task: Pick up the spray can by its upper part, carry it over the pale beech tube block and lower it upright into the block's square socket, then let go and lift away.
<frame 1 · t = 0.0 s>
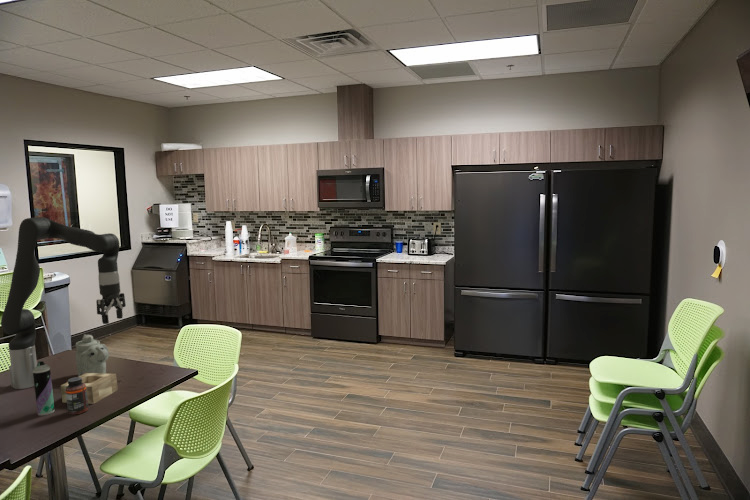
hand: (112, 321, 210), 29 cm above the table, tool pointing down, fingers open, 8 cm apart
spray can: (46, 412, 192), on the table
supplement bottle: (78, 412, 192), on the table
grey animal cookie jar: (94, 376, 230), on the table
tube block: (90, 396, 207), on the table
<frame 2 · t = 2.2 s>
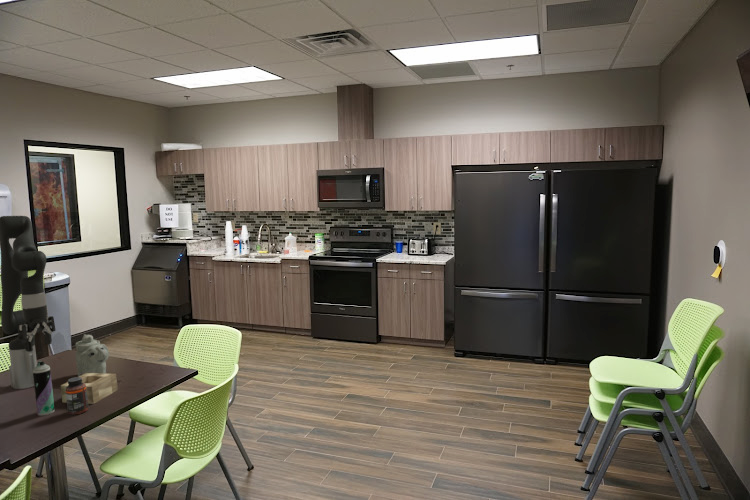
hand: (39, 347, 189), 25 cm above the table, tool pointing down, fingers open, 8 cm apart
nothing on the table moved.
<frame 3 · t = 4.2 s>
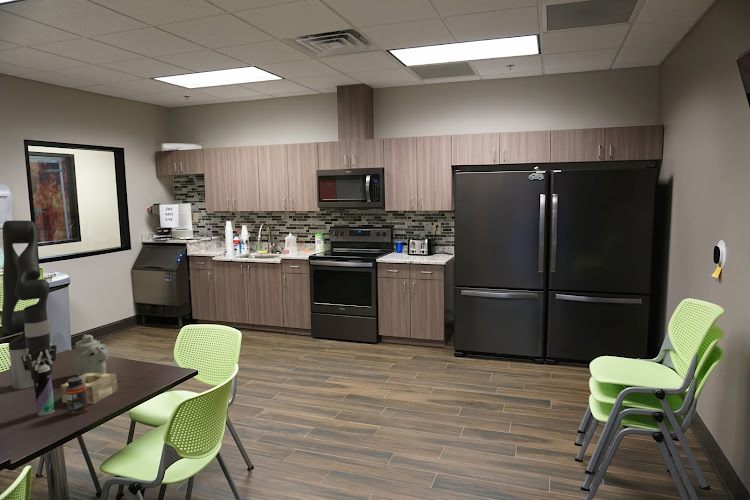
hand: (42, 376, 191), 14 cm above the table, tool pointing down, fingers closed on spray can, 5 cm apart
spray can: (46, 412, 192), on the table, touching gripper
everything else where it was.
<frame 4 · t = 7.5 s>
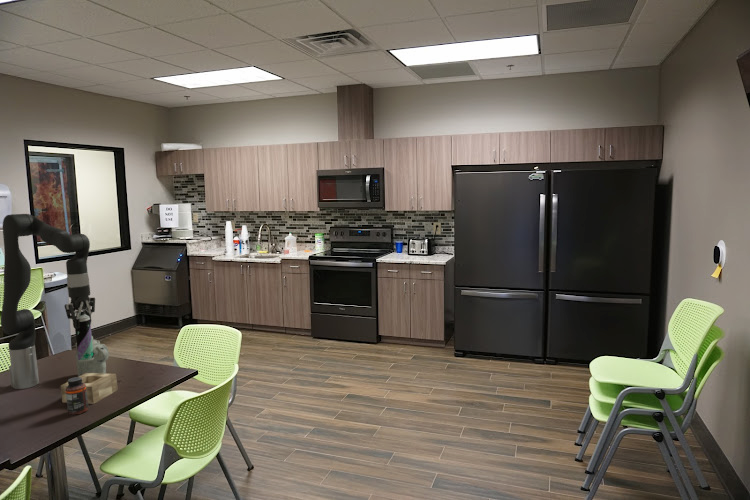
hand: (82, 326, 203), 29 cm above the table, tool pointing down, fingers closed on spray can, 5 cm apart
spray can: (86, 360, 205), point 15 cm above the table, touching gripper
everything else where it was.
when the fingers open (15 cm above the table, at t = 11.0 s): spray can drops 1 cm, resting in tube block.
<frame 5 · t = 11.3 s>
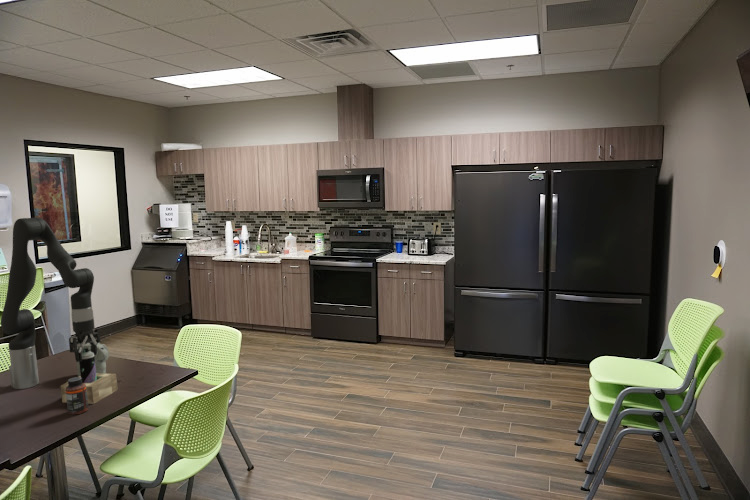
hand: (86, 357, 205), 16 cm above the table, tool pointing down, fingers open, 8 cm apart
spray can: (90, 396, 207), resting in tube block
everything else where it was.
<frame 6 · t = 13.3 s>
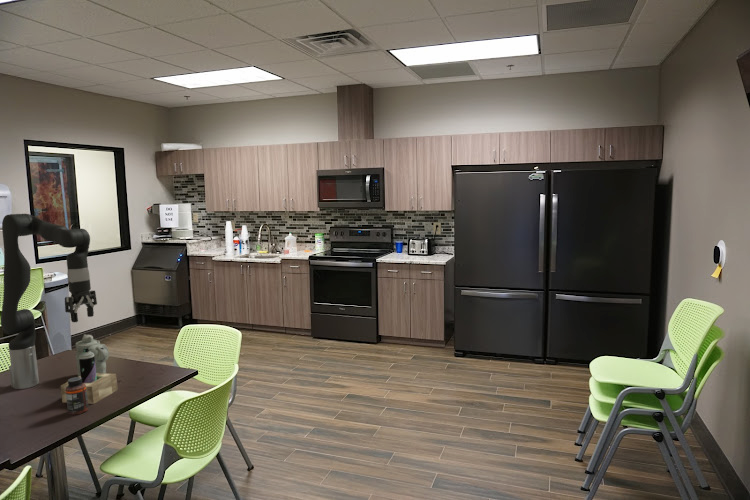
hand: (82, 319, 203), 32 cm above the table, tool pointing down, fingers open, 8 cm apart
nothing on the table moved.
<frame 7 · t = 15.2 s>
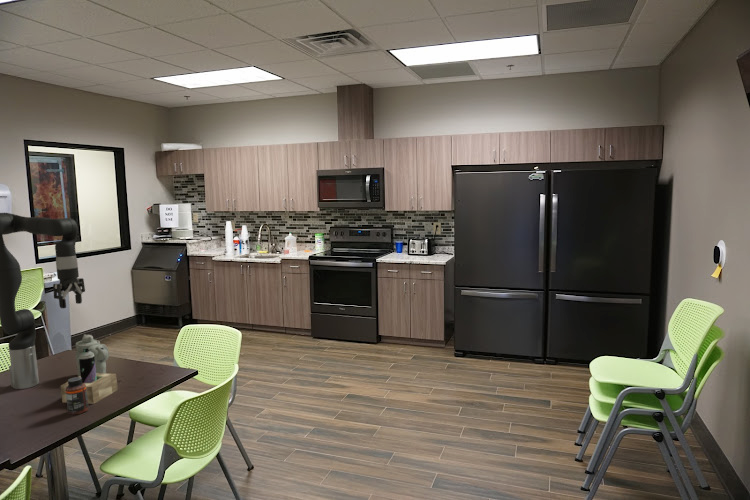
hand: (71, 305, 210), 36 cm above the table, tool pointing down, fingers open, 8 cm apart
nothing on the table moved.
at the end: spray can 0.1 cm off-centre on the tube block, point 0.0 cm above the tube block's base; spray can tilted 0°; the gripper is holding nothing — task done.
